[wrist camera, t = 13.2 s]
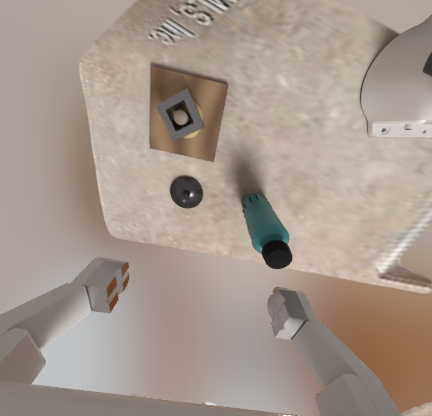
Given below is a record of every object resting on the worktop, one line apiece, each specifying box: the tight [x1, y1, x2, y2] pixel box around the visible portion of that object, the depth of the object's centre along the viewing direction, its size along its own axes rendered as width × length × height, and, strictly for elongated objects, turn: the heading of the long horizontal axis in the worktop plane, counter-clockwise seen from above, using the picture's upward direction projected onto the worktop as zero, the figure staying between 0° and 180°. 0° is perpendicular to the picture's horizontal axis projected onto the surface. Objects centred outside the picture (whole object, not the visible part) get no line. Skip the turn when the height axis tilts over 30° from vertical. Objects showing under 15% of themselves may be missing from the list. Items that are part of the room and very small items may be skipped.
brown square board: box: [150, 66, 228, 162], centre depth 30 cm, size 14×14×6 cm
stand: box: [170, 177, 203, 208], centre depth 38 cm, size 8×8×5 cm
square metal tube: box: [156, 88, 205, 141], centre depth 29 cm, size 6×6×4 cm
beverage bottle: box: [242, 193, 292, 269], centre depth 32 cm, size 6×7×20 cm
